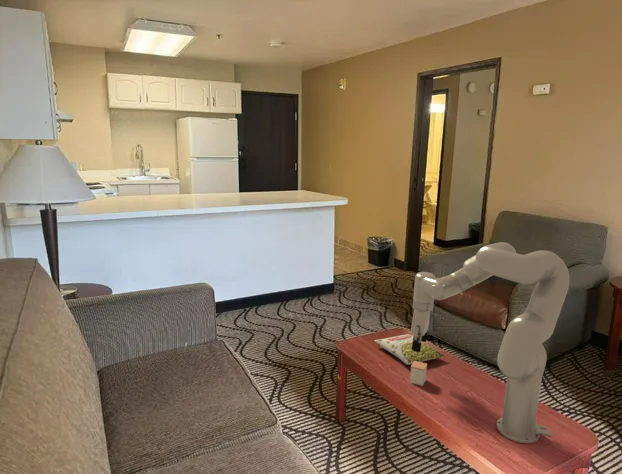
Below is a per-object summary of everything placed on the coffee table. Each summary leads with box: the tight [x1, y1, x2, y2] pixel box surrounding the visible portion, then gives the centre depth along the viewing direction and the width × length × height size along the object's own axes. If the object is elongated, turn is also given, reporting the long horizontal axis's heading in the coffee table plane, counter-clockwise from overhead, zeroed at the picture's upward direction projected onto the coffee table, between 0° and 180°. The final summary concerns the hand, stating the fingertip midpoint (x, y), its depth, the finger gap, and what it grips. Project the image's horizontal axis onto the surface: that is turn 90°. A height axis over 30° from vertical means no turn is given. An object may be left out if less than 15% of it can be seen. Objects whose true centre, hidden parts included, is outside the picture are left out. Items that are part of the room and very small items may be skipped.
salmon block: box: [409, 361, 428, 387], centre depth 166 cm, size 5×5×7 cm
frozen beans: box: [373, 333, 445, 365], centre depth 189 cm, size 21×6×25 cm
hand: (419, 345), depth 164 cm, fingers open, 9 cm apart
